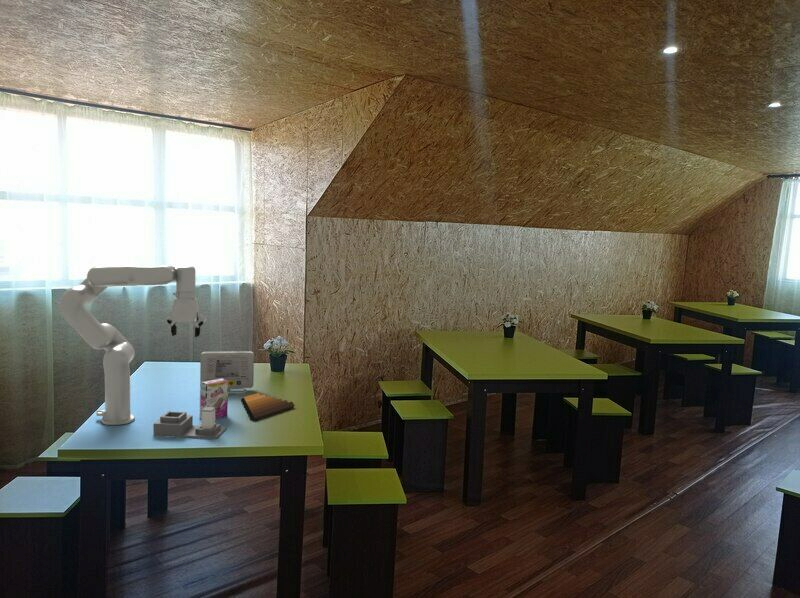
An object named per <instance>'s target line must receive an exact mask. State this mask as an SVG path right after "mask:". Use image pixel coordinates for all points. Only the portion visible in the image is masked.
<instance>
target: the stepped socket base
mask: <svg viewBox="0 0 800 598" xmlns="http://www.w3.org/2000/svg"><path fill="white" fill-rule="evenodd" d="M193 422H194V421H193V415H191V414H187V412H186V411H172V410H167V411H166V412H165V413H164V414H162V415H161V416H160V417H159V419H158V420H156V421H155V422H153V424H152V425H153V426H152V427H153V430H152V431H153V434H152V435H153V436H154V437H165V436H174V437H173V438H184V439H185V438H187V439H204V438H206V439H208V440H218V438H219V437H221V435H222V434H224V432H225V431H226V430H227V426H221V425H222V424H221V423H215V427H214V428H213V429H202V422H201V423H200V424H199V425H196V424H195V425H193Z"/></svg>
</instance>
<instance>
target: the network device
mask: <svg viewBox="0 0 800 598" xmlns="http://www.w3.org/2000/svg"><path fill="white" fill-rule="evenodd" d="M199 365H200V367H199V368H200V370H199V371H200V373H199V374H200V377H199V380H200V382H205V381H210V380H216V379H222V378H223V379H225V380H228V393H236V394H245V392H246V393H247V389H251V388H253V387H254V380H255V378H254V375H255V374H254V373H255V372H254V369H255V367H254V366H255V353H254V352H253V351H248V350H247V351H246V350H245V351H239V350H237V351H235V350H234V351H232V350H231V351H203V352H201V353H200V363H199ZM230 389H231V390H243V391H231V390H230Z"/></svg>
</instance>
